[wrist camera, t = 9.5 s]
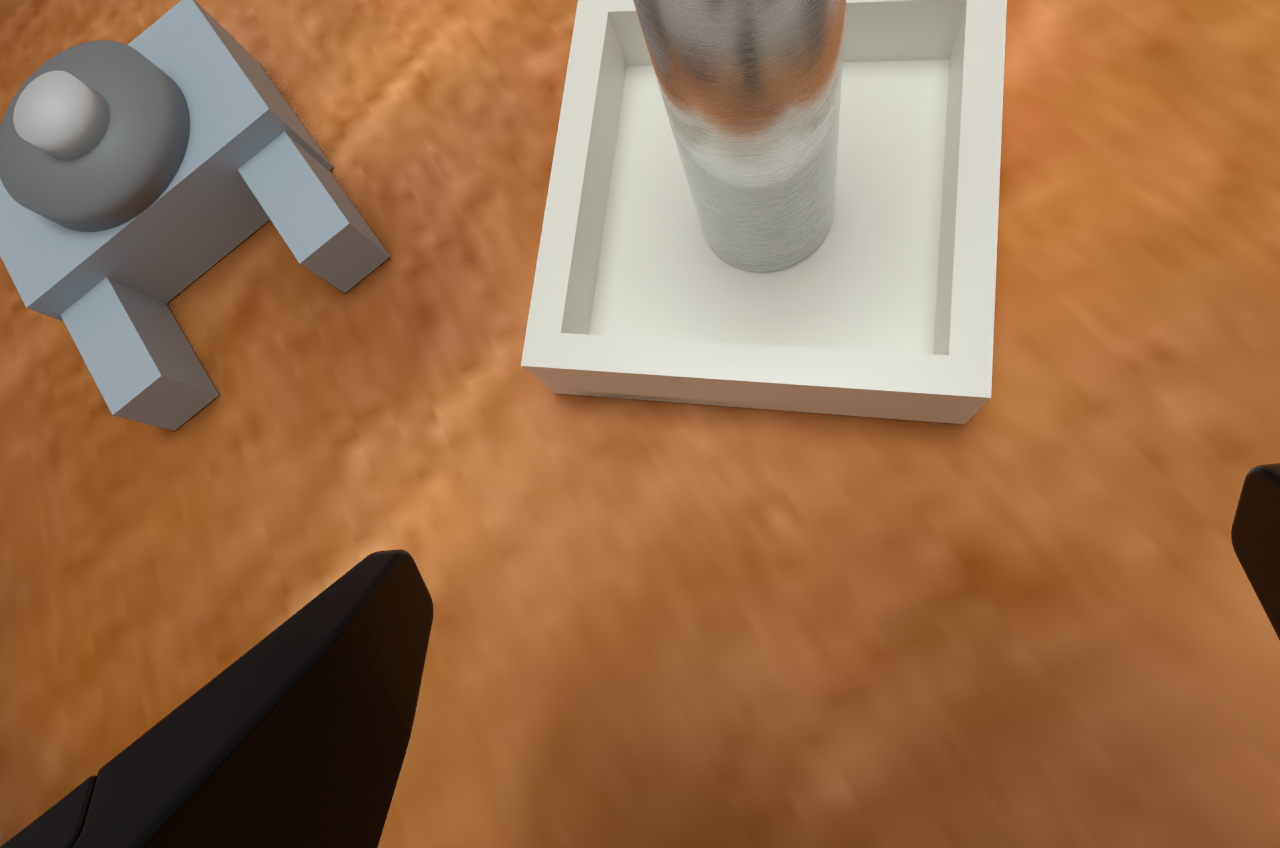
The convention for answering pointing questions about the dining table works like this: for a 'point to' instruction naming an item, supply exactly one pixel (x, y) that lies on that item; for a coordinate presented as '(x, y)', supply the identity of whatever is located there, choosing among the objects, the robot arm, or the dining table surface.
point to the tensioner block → (159, 198)
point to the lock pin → (753, 118)
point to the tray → (811, 290)
